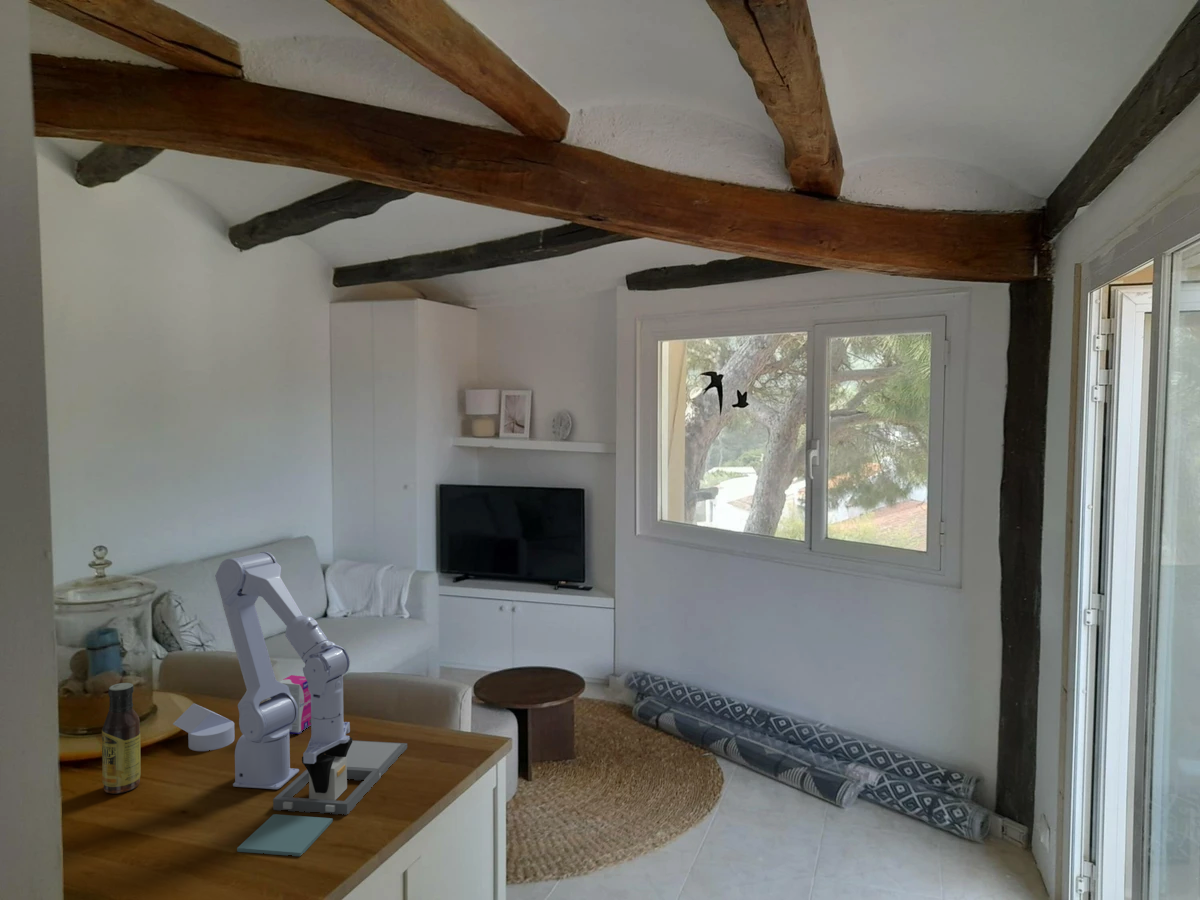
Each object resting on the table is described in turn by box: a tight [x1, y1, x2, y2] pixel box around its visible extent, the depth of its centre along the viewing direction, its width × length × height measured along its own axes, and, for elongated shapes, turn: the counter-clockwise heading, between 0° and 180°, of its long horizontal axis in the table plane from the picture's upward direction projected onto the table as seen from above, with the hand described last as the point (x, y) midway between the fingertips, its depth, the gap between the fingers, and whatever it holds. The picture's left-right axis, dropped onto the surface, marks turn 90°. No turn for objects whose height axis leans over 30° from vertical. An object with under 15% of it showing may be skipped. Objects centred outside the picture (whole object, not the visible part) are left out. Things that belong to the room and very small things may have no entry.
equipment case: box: [272, 739, 408, 816], centre depth 155 cm, size 14×29×2 cm, turn 172°
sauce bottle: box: [101, 682, 142, 795], centre depth 150 cm, size 7×6×20 cm
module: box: [308, 756, 348, 800], centre depth 148 cm, size 5×5×6 cm
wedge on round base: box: [172, 703, 236, 752], centre depth 173 cm, size 9×7×13 cm
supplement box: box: [278, 674, 311, 735], centre depth 178 cm, size 6×6×12 cm
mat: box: [236, 813, 334, 857], centre depth 133 cm, size 11×11×1 cm
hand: (328, 785), depth 148 cm, fingers closed on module, 5 cm apart
